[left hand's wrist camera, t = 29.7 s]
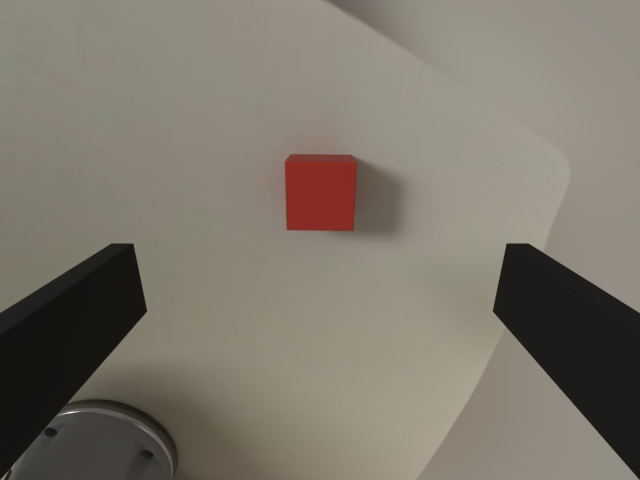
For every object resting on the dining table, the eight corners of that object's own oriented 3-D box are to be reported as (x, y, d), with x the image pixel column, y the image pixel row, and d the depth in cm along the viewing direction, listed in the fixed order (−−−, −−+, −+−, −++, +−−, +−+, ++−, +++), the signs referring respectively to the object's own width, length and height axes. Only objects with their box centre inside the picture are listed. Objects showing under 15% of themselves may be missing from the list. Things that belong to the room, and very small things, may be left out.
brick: (351, 154, 27) (356, 162, 23) (348, 214, 29) (353, 230, 25) (290, 154, 27) (284, 161, 23) (291, 214, 29) (286, 230, 25)
